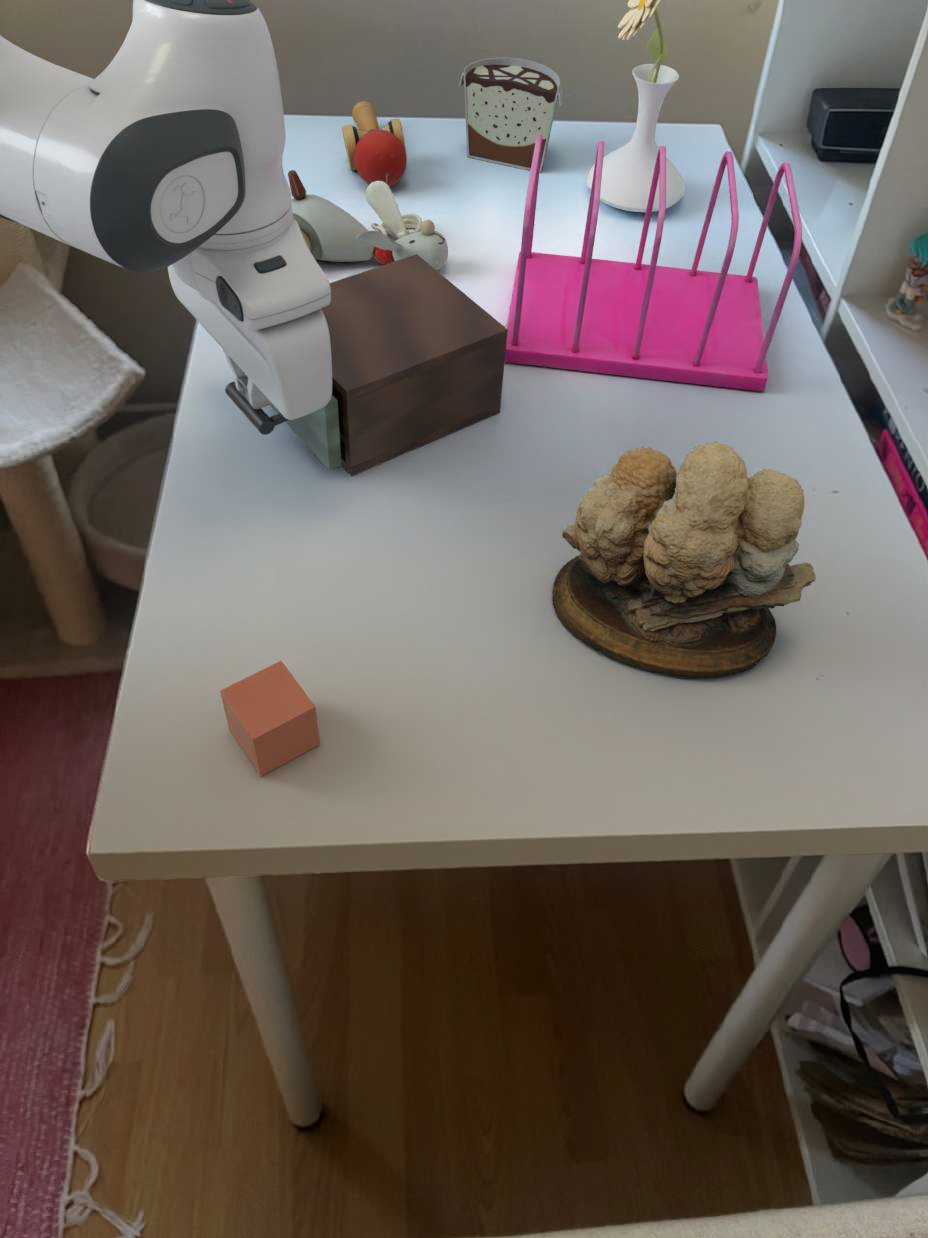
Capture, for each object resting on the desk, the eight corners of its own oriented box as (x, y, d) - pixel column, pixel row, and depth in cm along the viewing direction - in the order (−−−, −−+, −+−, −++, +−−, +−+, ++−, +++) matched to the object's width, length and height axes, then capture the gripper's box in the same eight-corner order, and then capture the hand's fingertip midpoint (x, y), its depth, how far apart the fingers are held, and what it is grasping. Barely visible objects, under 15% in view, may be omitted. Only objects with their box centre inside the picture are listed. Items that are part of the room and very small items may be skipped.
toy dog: (453, 281, 104) (457, 198, 98) (273, 299, 101) (264, 214, 94) (427, 221, 112) (429, 140, 105) (259, 235, 108) (249, 152, 102)
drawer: (284, 490, 82) (275, 423, 77) (213, 407, 88) (201, 340, 83) (471, 411, 90) (475, 346, 84) (394, 340, 96) (393, 275, 91)
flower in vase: (603, 165, 122) (640, -75, 103) (693, 188, 120) (748, -54, 100) (565, 212, 115) (597, -37, 95) (660, 238, 112) (713, -13, 93)
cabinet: (351, 476, 85) (346, 391, 78) (272, 389, 92) (261, 305, 85) (500, 412, 91) (508, 329, 84) (415, 336, 98) (416, 253, 91)
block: (260, 777, 66) (252, 739, 62) (228, 729, 68) (219, 690, 65) (320, 744, 68) (315, 706, 64) (287, 699, 70) (281, 660, 67)
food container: (566, 153, 124) (577, 67, 116) (552, 175, 120) (563, 87, 112) (472, 133, 126) (476, 47, 118) (455, 154, 122) (459, 67, 115)
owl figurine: (788, 586, 79) (865, 414, 66) (780, 704, 72) (865, 537, 59) (565, 537, 81) (596, 361, 68) (535, 647, 74) (563, 474, 61)
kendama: (328, 138, 126) (345, 189, 113) (333, 83, 122) (352, 130, 109) (388, 147, 128) (412, 198, 115) (396, 94, 124) (421, 140, 111)
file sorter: (517, 266, 107) (532, 115, 95) (752, 291, 106) (798, 142, 94) (501, 363, 96) (515, 207, 84) (764, 393, 95) (817, 239, 83)
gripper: (130, 188, 75) (164, 345, 86) (260, 324, 65) (280, 482, 76) (207, 168, 78) (230, 322, 88) (344, 295, 68) (352, 453, 78)
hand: (254, 397), depth 82 cm, fingers closed
